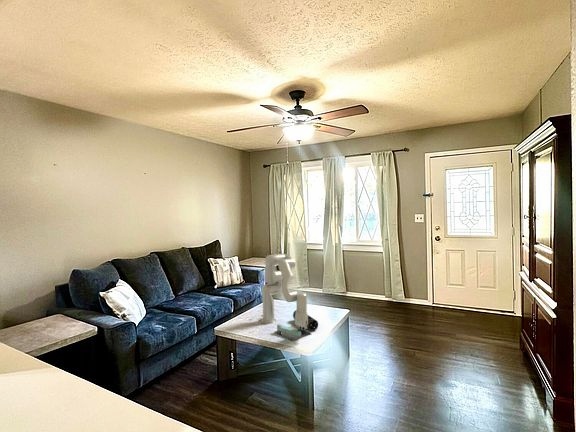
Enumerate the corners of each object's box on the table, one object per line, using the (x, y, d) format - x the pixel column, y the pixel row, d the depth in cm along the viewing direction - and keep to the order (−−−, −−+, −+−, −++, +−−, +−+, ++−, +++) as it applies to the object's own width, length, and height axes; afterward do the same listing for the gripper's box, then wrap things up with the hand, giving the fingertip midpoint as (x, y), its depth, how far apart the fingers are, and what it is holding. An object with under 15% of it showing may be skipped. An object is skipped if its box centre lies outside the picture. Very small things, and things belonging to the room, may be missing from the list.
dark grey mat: (273, 333, 239) (273, 331, 239) (293, 326, 252) (293, 325, 252) (291, 342, 222) (291, 340, 222) (312, 335, 235) (312, 333, 235)
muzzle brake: (307, 333, 238) (307, 320, 238) (292, 321, 264) (291, 309, 264) (318, 331, 242) (318, 318, 242) (302, 320, 268) (302, 308, 268)
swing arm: (276, 331, 238) (276, 325, 238) (279, 330, 241) (279, 324, 240) (299, 339, 225) (299, 332, 225) (302, 337, 228) (302, 330, 227)
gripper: (291, 308, 233) (291, 332, 233) (304, 313, 221) (304, 339, 222) (298, 306, 237) (298, 330, 238) (312, 311, 226) (312, 336, 226)
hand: (301, 334), depth 230 cm, fingers closed
